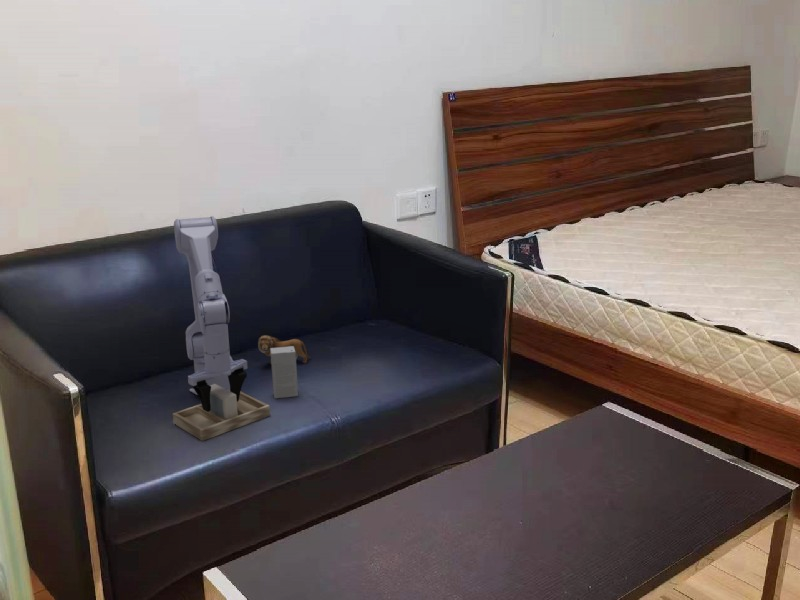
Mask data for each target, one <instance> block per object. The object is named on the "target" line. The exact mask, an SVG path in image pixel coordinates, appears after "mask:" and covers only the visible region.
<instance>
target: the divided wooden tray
mask: <svg viewBox="0 0 800 600" xmlns="http://www.w3.org/2000/svg"><path fill="white" fill-rule="evenodd" d="M237 412H238V416H236V417H233V418H230V419H227V420H224V419H222V418H221V417H219V416H217V415H215V414H213V413H211V412H210V411H209V412H207V411H205V410H203V407H202V404H201V403H199V404H196V405H194V406H191V407H187V408H185V409H182V410H179V411H177V412H173V413H172V423H173V425H175V424H176V426H178V428H180V429H182V430H184V431H185V432H186V433H189V434H190V435H192V436H193V437H195V438H197V439H199V440H200V441H202V442H204V441H206V440H209V439H212V438H215V437H217V436H219V435H222V434H224V433H225V434H226V433H227V432H230V431H233V430H236V429H238V428H241V427H242V426H243V427H244V426H246V425H249V424H252V423H253V422H257V421H259V420H262V419H265V418H267V417H269V416H271V407H270V404H267V403H266V402H263V401H261V400H259V399H257V398H255V397H253V396H251V395H249V394H246V393H245V392H243V391H242V390H241V391H240V396H239V401H237Z"/></svg>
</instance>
